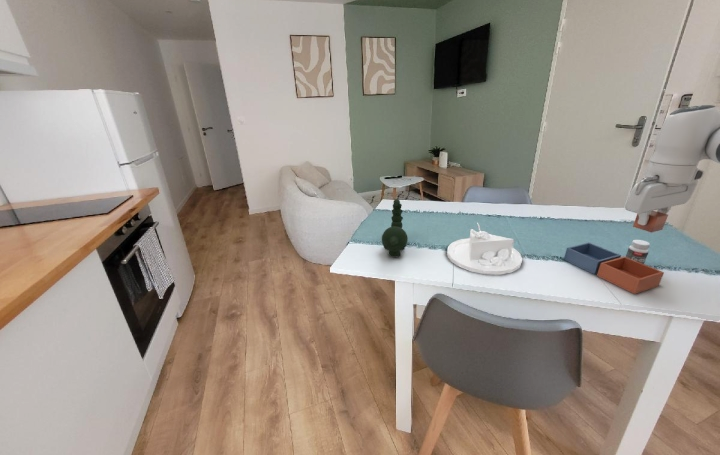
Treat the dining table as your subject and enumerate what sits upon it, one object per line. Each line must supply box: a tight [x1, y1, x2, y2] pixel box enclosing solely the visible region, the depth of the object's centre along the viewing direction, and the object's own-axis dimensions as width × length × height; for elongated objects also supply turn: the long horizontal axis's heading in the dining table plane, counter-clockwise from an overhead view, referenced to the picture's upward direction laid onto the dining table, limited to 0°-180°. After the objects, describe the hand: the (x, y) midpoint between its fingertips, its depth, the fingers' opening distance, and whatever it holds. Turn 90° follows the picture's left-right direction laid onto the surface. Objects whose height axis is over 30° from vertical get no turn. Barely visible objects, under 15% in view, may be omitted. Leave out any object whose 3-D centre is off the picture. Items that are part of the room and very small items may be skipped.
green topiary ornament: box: [381, 198, 409, 258], centre depth 110 cm, size 9×19×25 cm
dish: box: [446, 222, 523, 276], centre depth 102 cm, size 25×25×11 cm
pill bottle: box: [625, 239, 651, 265], centre depth 93 cm, size 5×5×8 cm
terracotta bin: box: [596, 256, 665, 295], centre depth 86 cm, size 10×10×5 cm
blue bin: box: [563, 241, 622, 275], centre depth 96 cm, size 10×10×5 cm
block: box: [632, 210, 669, 233], centre depth 81 cm, size 4×4×4 cm
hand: (649, 222), depth 81 cm, fingers closed on block, 4 cm apart
